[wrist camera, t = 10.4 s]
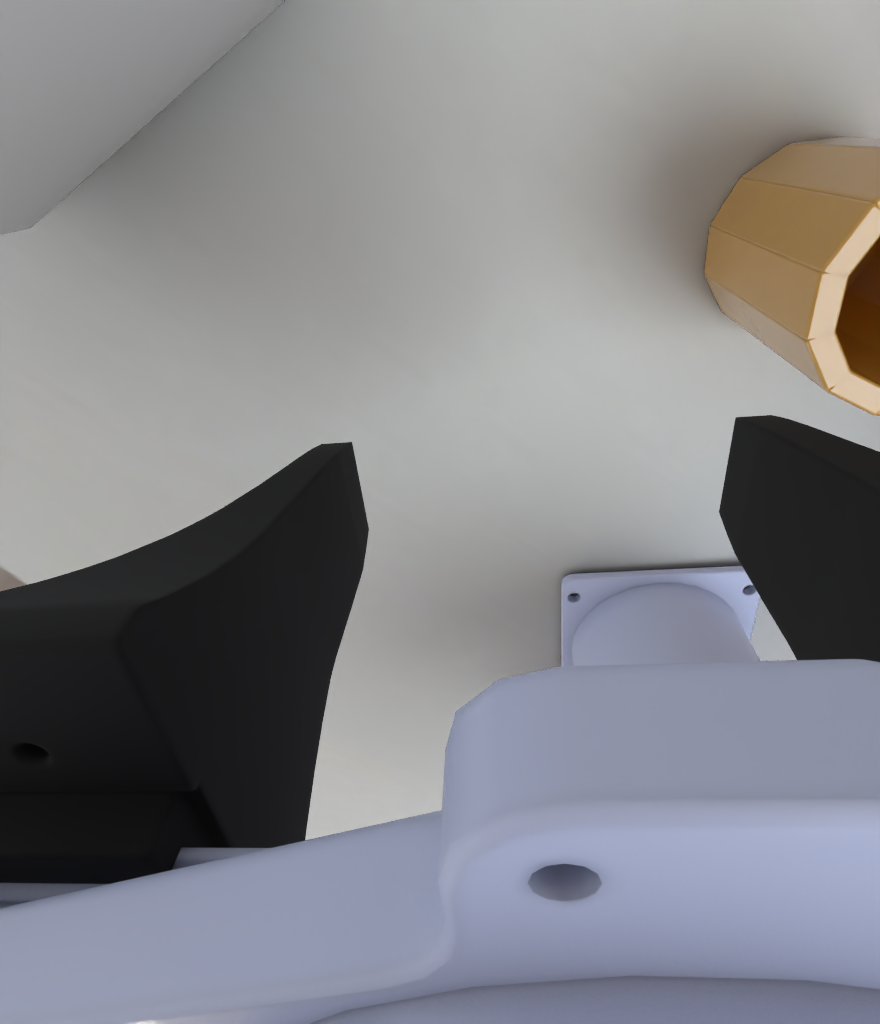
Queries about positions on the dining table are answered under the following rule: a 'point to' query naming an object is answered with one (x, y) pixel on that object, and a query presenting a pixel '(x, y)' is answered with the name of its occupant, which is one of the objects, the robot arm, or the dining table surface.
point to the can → (96, 83)
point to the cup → (807, 262)
